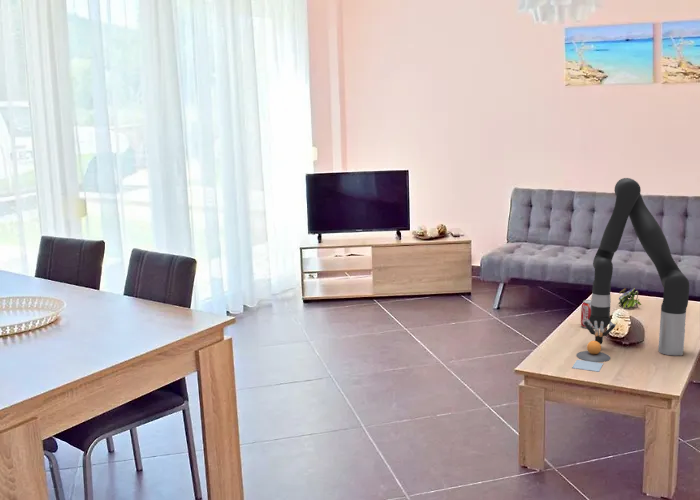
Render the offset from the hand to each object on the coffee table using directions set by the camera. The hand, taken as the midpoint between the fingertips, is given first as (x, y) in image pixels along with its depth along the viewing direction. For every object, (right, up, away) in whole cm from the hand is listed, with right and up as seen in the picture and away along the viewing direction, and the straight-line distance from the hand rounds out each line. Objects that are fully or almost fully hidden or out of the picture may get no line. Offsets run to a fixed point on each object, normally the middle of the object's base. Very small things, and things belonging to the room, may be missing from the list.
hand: (598, 344), depth 305 cm
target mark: (-6, -4, -10) cm, 12 cm away
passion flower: (+37, +11, +62) cm, 73 cm away
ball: (-4, 0, -8) cm, 9 cm away
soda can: (+5, +4, +30) cm, 30 cm away
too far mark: (-11, -6, -21) cm, 24 cm away
